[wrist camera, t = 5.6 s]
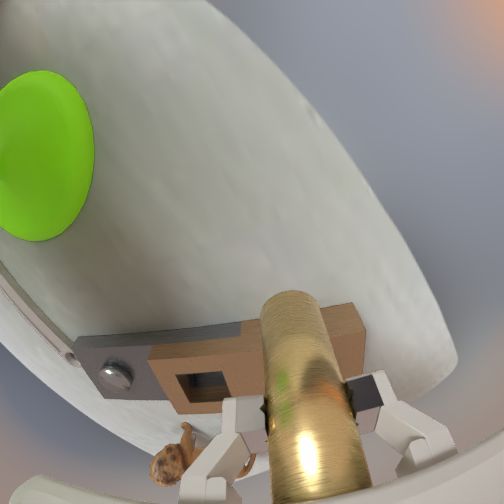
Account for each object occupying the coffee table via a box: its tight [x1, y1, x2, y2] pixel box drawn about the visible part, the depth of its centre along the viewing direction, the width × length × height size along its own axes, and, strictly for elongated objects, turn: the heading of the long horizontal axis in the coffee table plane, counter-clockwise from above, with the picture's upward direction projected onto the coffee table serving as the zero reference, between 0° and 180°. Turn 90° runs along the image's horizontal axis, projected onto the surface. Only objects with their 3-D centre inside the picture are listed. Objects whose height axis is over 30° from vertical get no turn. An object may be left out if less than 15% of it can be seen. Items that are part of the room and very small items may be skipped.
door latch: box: [71, 302, 366, 414], centre depth 25 cm, size 8×28×5 cm, turn 100°
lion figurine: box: [149, 422, 256, 486], centre depth 30 cm, size 15×5×9 cm, turn 88°
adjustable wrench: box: [0, 261, 82, 368], centre depth 24 cm, size 25×6×2 cm, turn 32°
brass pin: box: [260, 291, 373, 504], centre depth 10 cm, size 3×3×10 cm
